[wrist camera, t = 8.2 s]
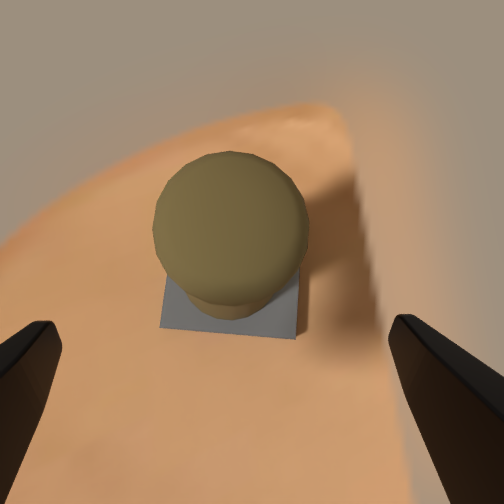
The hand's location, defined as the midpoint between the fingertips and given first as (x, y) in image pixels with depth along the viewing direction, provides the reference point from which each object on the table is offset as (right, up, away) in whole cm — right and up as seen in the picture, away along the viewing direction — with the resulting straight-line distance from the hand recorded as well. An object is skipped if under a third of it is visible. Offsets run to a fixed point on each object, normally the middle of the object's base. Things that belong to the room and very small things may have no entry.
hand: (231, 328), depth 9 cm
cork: (-1, +1, +12) cm, 12 cm away
